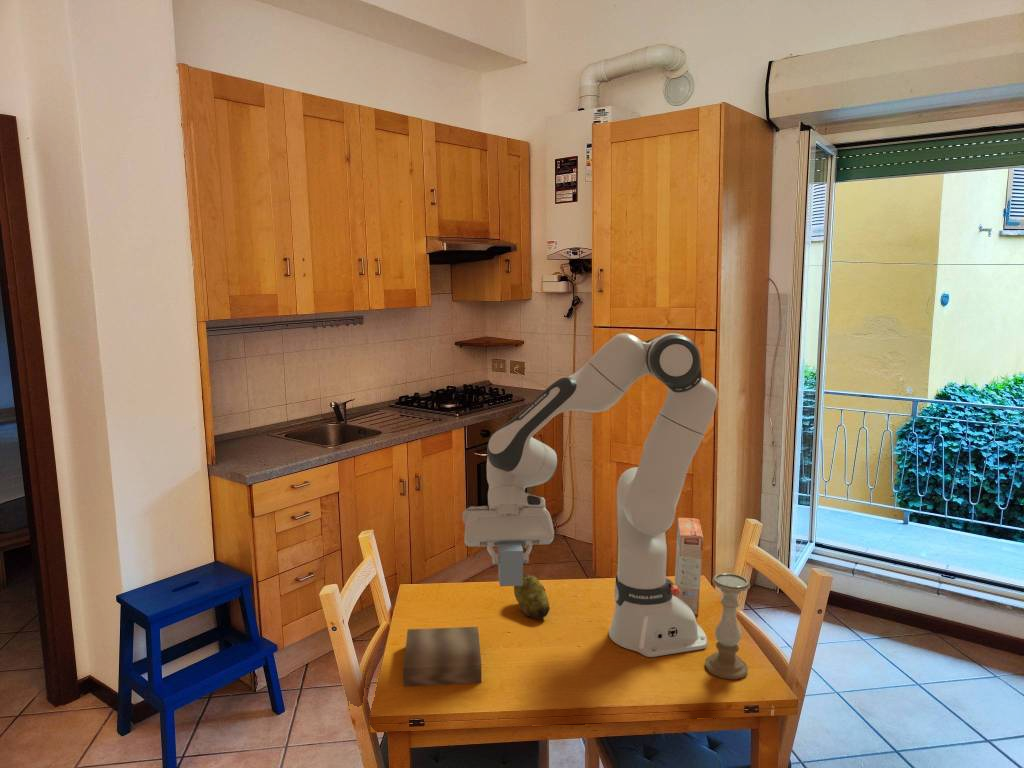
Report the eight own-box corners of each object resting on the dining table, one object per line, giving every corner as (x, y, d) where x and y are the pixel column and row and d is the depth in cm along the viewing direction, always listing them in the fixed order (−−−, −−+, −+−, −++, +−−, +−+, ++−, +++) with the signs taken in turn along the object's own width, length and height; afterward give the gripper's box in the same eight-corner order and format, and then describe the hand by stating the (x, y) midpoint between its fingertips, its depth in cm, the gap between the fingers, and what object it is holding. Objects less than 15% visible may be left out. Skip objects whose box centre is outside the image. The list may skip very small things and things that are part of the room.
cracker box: (699, 616, 173) (703, 536, 170) (675, 614, 175) (678, 534, 172) (696, 592, 187) (700, 517, 184) (673, 590, 188) (676, 516, 185)
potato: (516, 623, 169) (517, 592, 168) (512, 599, 182) (512, 570, 181) (550, 622, 170) (551, 591, 169) (544, 598, 183) (544, 569, 181)
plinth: (477, 643, 160) (477, 626, 159) (481, 682, 144) (481, 664, 144) (407, 645, 158) (407, 629, 158) (403, 686, 143) (403, 668, 142)
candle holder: (743, 659, 154) (748, 572, 151) (751, 682, 145) (756, 590, 142) (702, 656, 155) (707, 570, 152) (707, 678, 146) (712, 587, 143)
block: (520, 576, 157) (520, 542, 156) (522, 585, 152) (523, 550, 151) (498, 576, 156) (498, 542, 155) (500, 586, 151) (500, 551, 150)
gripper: (462, 500, 158) (463, 558, 149) (551, 498, 159) (557, 555, 151) (462, 512, 163) (463, 569, 154) (548, 510, 165) (554, 566, 156)
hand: (510, 562), depth 153 cm, fingers closed on block, 5 cm apart
